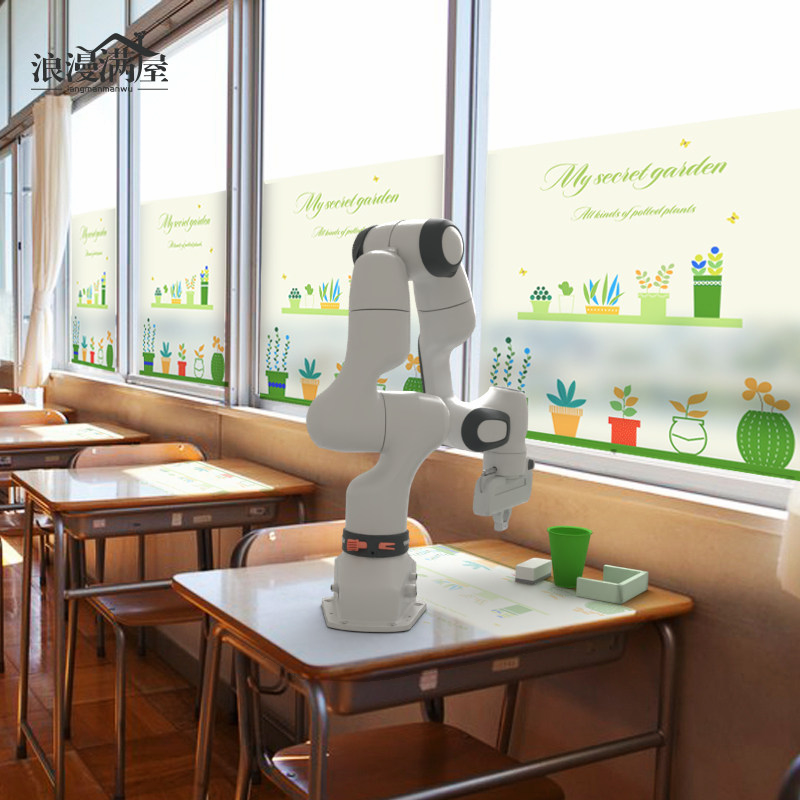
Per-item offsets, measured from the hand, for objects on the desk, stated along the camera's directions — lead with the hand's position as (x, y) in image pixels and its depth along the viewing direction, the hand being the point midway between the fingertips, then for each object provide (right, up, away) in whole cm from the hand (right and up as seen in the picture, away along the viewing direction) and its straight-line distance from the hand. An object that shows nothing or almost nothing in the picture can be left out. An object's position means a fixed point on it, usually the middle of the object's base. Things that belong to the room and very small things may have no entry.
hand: (501, 529), depth 217 cm
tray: (+20, -11, -14) cm, 27 cm away
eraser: (+6, -10, -5) cm, 12 cm away
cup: (+12, -10, -9) cm, 18 cm away
